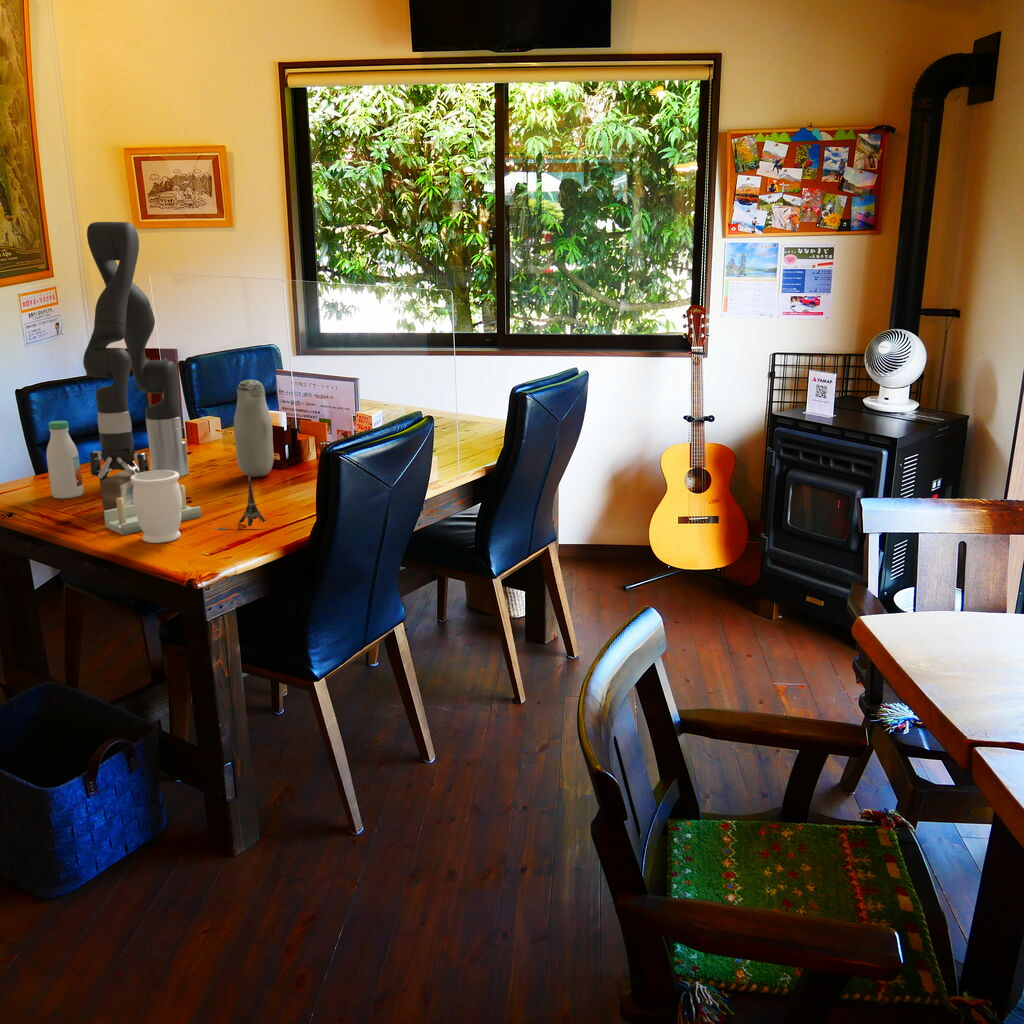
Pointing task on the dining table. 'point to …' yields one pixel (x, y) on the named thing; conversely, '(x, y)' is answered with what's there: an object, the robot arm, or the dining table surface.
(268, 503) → the dining table surface
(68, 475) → the milk bottle
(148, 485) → the jar
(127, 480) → the wooden block
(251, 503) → the eiffel tower figurine
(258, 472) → the grey bottle
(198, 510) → the ledge
